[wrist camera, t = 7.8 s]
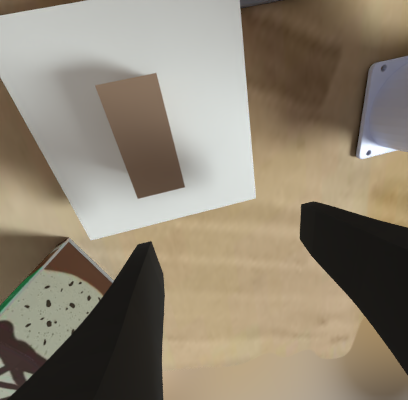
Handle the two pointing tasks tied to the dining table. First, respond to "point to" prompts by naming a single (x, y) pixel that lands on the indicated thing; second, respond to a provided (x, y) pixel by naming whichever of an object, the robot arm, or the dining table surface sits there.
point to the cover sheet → (123, 53)
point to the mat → (254, 2)
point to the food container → (46, 312)
